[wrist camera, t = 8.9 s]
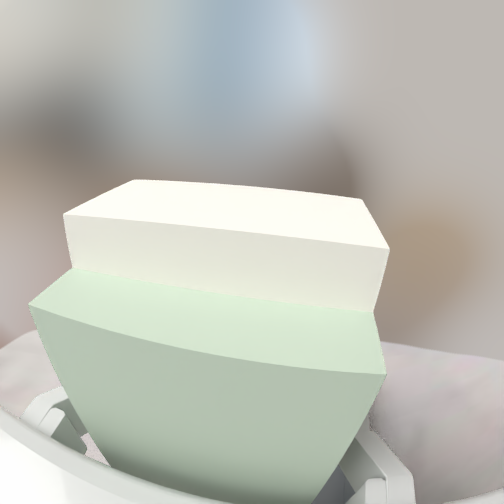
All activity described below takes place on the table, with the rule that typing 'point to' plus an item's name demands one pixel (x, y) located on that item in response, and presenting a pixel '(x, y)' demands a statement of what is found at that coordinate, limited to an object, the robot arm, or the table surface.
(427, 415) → the table surface
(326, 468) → the juice carton
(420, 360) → the table surface
